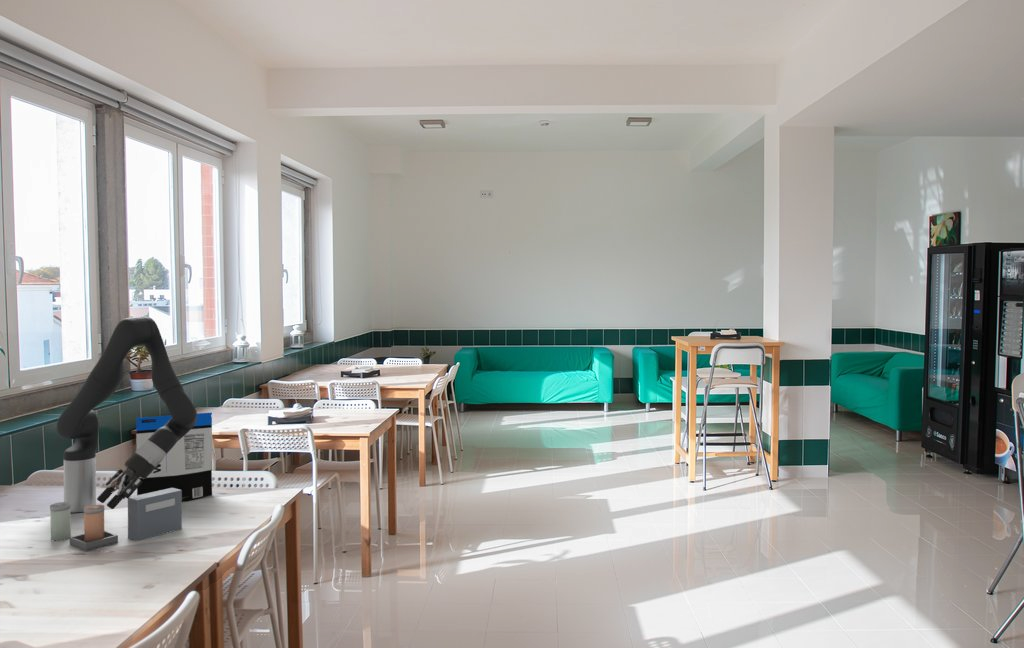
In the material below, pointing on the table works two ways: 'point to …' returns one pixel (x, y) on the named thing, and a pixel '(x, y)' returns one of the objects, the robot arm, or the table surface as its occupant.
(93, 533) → the cylinder
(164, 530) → the dark grey unit
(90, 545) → the charcoal tray
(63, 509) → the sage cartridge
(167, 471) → the protein powder
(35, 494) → the table surface
